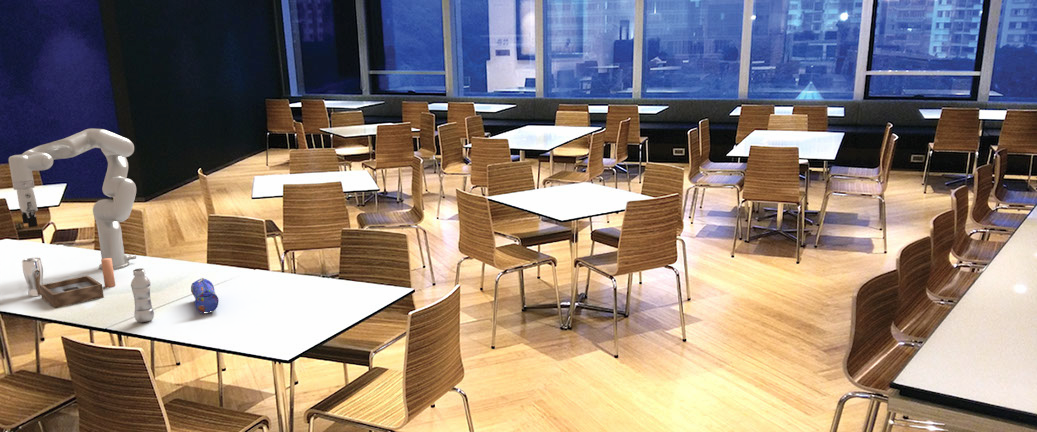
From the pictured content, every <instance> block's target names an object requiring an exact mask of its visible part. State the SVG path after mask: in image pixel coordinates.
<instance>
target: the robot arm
mask: <svg viewBox="0 0 1037 432" xmlns="http://www.w3.org/2000/svg"><path fill="white" fill-rule="evenodd" d="M95 148H96V149H100V150H101V152H102V153H103V155H104V156H105V158H106V161H107V170H106V172H105V176H104V179H103V180H104V181H103V184H102V188H101V189H102V193H103V195H105V196H107V197H109V198H113V199H106V198H105V199H99V200H97V201H96V202H95V203H94V205H93V208H92V214H93V217H94V220H95V223H96V227H97V234H98V242H99V249H100V255H101V259H104V258H112V264H113V270H118V269H124V268H126V267H129V265H130V260H135V259H137V256H136V254H132V255H131V254H130V255H126V254H125V249H124V243H123V242H124V241H123V233H122V227H121V224H120V223H123V222H125V221H127V219H129V218H130V216H131V213H132V210H133V206H134V203H135V199H136V196H137V195H136V194H137V186H136V183H135V182H134V181H133V180H132V179H131V178H127V177H128V173H129V162H128V159H127V158H128V157H130V156H132V155H133V154H134V152H135V145H134V143H133V142H132V141H131V140H130V139H129V138H127V137H124V136H122V135H119V134H117V133H115V132H112V131H109V130H107V129H104V128H87V129H84V130H82V131H80V132H76V133H74V134H72V135H70V136H67V137H65V138H62V139H58V140H55V141H51V142H48V143H44V144H40V145H38V146H35V147H33V148H29V149H28V150H26V151H24V152H23V153H21V154H14V155H11V156H9V157H8V165H9V170H10V177H11V182H12V188H13V190H14V191H16V195H17V200H18V207H19V210H20V211H21V220H22V223H23V224H27V227H28V228H35V227H38V221H37V219H38V218H37V215H36V212H38V210H39V209H38V203H37V200H36V195H35V191H34V189H35V180H34V174H33V171H34V172H35V171H46V170H49V169H51V168H52V166H53V164H54V160H61V159H70V158H74V157H77V156H78V155H80V154H83V153H86V152H87V151H90V150H92V149H95ZM98 269H100V270H103V269H102V263H101V264H99V265H98Z"/></svg>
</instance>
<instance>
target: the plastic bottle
mask: <svg viewBox="0 0 1037 432" xmlns="http://www.w3.org/2000/svg"><path fill="white" fill-rule="evenodd" d="M132 272H133V276H134V277H133V279H132V280H131V282H130V288H131V291H132V295H133V300H134V314H133V315H134V320H135V321H137V322H138V323H147V322H151V321H152V320H154V317H155V311H154V309H153V305H152V301H151V300H152V299H151V281H150V279H149V278H148V277H147V276H146V271H145V268H135V269H133V271H132Z"/></svg>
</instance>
